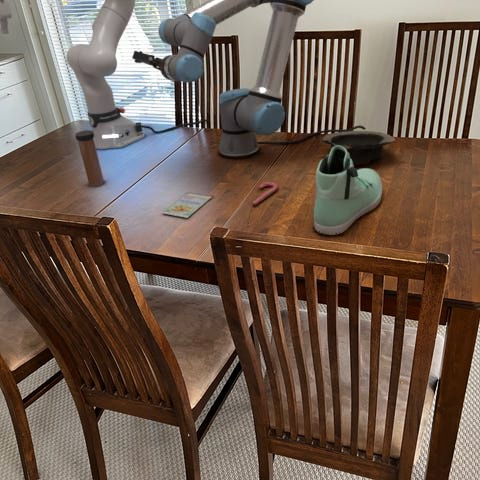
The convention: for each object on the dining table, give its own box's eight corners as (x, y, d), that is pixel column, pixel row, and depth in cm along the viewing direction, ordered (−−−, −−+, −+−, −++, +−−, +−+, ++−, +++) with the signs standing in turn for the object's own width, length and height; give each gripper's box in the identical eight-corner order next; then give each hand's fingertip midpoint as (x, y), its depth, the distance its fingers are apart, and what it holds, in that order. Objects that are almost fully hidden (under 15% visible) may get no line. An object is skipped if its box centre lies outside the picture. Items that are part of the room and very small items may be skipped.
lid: (94, 139, 157) (93, 134, 156) (76, 142, 155) (75, 137, 155) (94, 133, 162) (92, 129, 161) (76, 136, 160) (74, 131, 159)
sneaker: (389, 187, 148) (396, 123, 138) (356, 242, 123) (361, 168, 112) (346, 181, 154) (350, 119, 144) (306, 232, 129) (307, 161, 118)
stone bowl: (352, 176, 156) (352, 149, 152) (308, 158, 177) (307, 134, 172) (409, 157, 165) (411, 131, 161) (361, 143, 185) (362, 119, 181)
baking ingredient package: (162, 212, 143) (188, 192, 155) (162, 213, 144) (188, 193, 155) (187, 216, 140) (211, 196, 151) (187, 218, 140) (212, 197, 151)
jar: (104, 185, 166) (92, 135, 156) (89, 187, 164) (76, 138, 155) (103, 179, 170) (92, 130, 161) (88, 182, 169) (76, 133, 159)
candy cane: (239, 202, 147) (239, 198, 146) (265, 183, 157) (265, 179, 156) (255, 207, 144) (255, 202, 143) (281, 187, 154) (281, 183, 153)
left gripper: (8, -16, 148) (22, 33, 155) (-17, -15, 161) (-3, 29, 168) (-12, -13, 144) (3, 36, 151) (-36, -13, 157) (-21, 32, 164)
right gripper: (133, 62, 144) (117, 62, 162) (204, 94, 157) (182, 91, 175) (141, 38, 143) (124, 40, 160) (212, 72, 156) (189, 70, 173)
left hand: (0, 32), depth 160 cm, fingers open, 8 cm apart
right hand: (154, 66), depth 168 cm, fingers open, 13 cm apart
